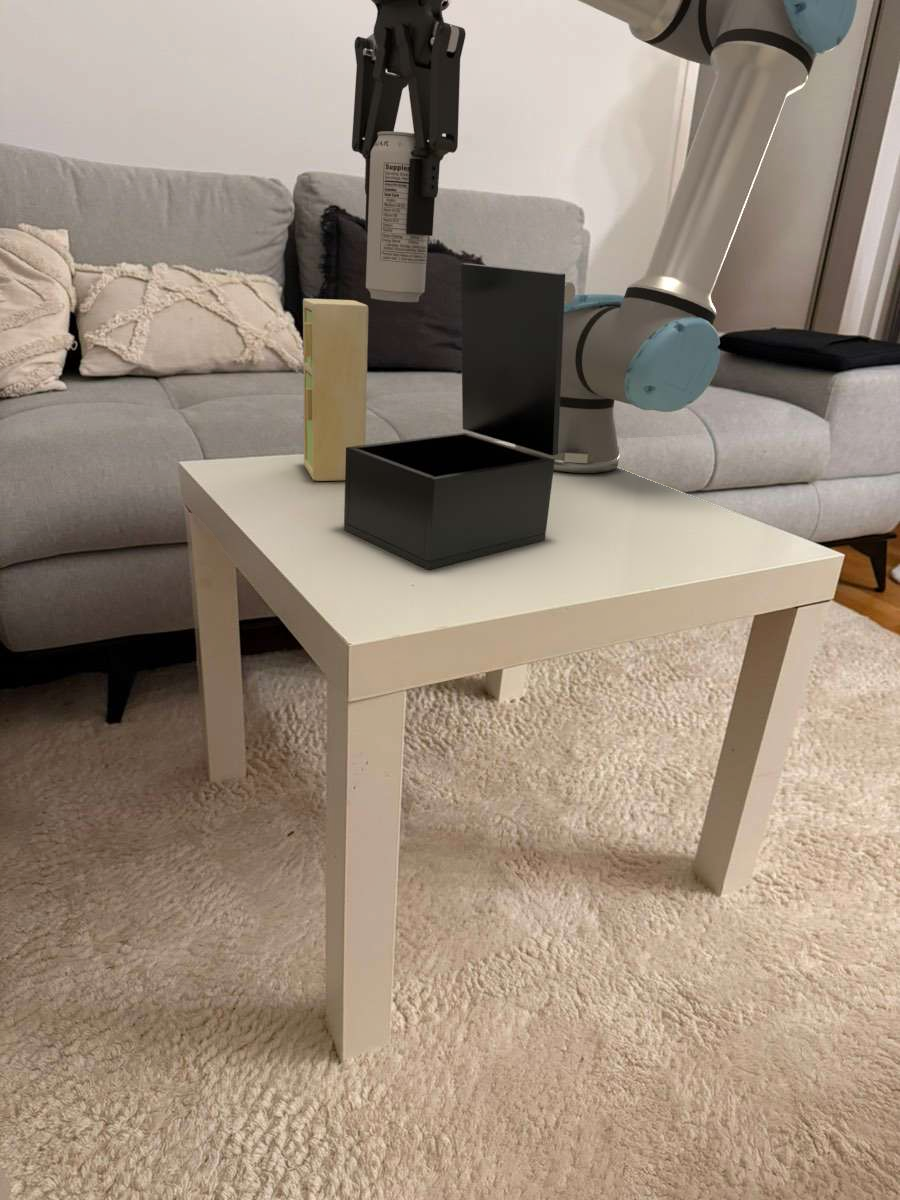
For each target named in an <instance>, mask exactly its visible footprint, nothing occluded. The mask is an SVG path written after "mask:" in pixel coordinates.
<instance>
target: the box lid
mask: <svg viewBox="0 0 900 1200" xmlns="http://www.w3.org/2000/svg"><path fill="white" fill-rule="evenodd" d="M575 295H576V286H575V284H574V283H573V282H570V281H566V273H561V272H552V271H542V270H535V269H534V270H533V269H531V270H530V269H523V268H516V267H506V266H505V267H504V266H495V265H486V264H477V263H467V262H464V263H460V310H461V312H460V318H461V319H460V322H461V323H460V326H461V327H460V329H461V330H460V332H461V397H462V398H461V399H462V400H461V404H462V405H461V406H462V407H461V408H462V411H461V412H462V430H464V431H468V432H472V433H475V434H478V435H481V436H485V437H488V438H492V439H495V440H498V441H502V442H505V443H508V444H512V445H514V446H515V445H518V446H522V447H525V448H528V449H532V450H535V451H539V452H542V453H545V454H549V455H552V456H554V455H557V454H558V440H559V416H560V392H561V368H562V344H563V320H564V303H570V302H572V300H573V299H574V296H575Z"/></svg>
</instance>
